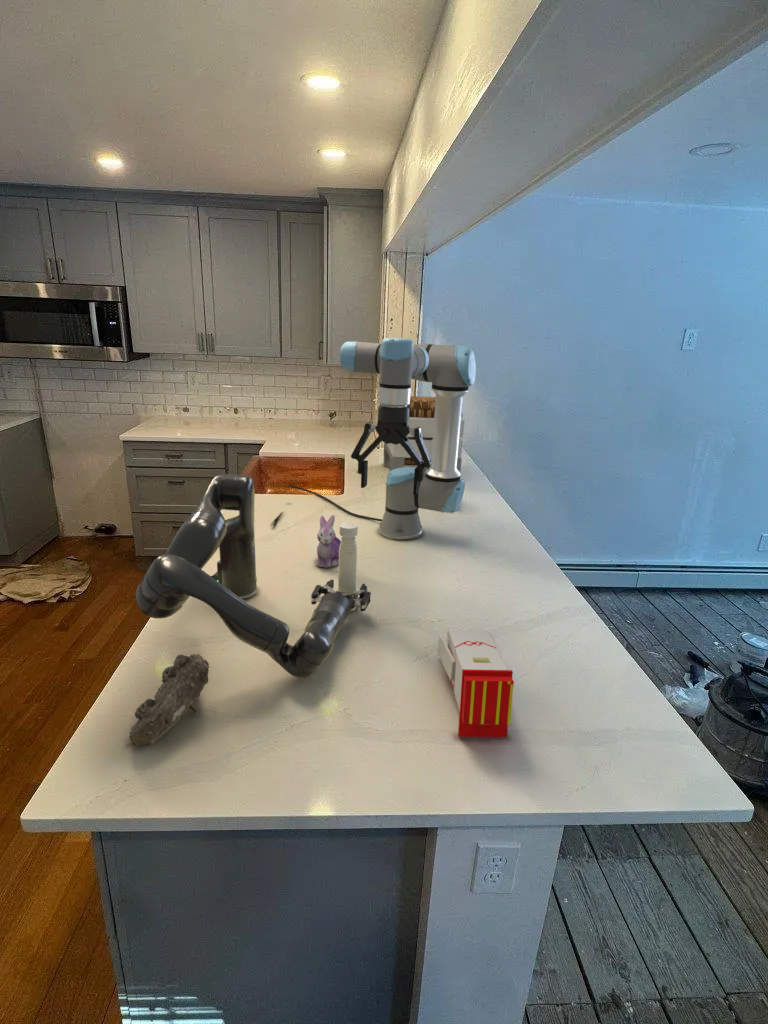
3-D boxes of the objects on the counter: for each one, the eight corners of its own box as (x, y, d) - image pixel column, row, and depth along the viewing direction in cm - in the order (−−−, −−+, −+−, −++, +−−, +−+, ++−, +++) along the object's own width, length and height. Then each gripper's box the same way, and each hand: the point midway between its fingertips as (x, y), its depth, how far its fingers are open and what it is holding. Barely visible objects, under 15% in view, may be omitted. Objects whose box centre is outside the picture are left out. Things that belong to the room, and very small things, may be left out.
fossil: (160, 655, 118) (210, 623, 113) (193, 685, 121) (243, 655, 116) (104, 739, 99) (161, 705, 94) (145, 772, 102) (202, 741, 97)
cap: (343, 529, 145) (344, 521, 144) (360, 532, 144) (360, 523, 143) (336, 535, 141) (336, 526, 140) (353, 538, 140) (353, 529, 139)
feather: (289, 506, 225) (292, 502, 225) (272, 529, 199) (275, 525, 198) (286, 503, 225) (288, 500, 225) (268, 527, 199) (271, 522, 198)
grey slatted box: (382, 463, 289) (386, 382, 275) (445, 464, 293) (451, 384, 279) (390, 482, 257) (394, 392, 243) (460, 483, 261) (468, 394, 247)
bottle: (342, 602, 152) (343, 522, 144) (358, 605, 151) (360, 525, 143) (335, 610, 148) (336, 528, 140) (351, 613, 147) (353, 531, 139)
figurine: (321, 571, 169) (321, 524, 164) (309, 557, 177) (309, 512, 172) (350, 565, 173) (351, 520, 168) (337, 553, 182) (338, 509, 177)
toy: (488, 613, 130) (523, 677, 101) (484, 667, 133) (517, 744, 104) (435, 612, 130) (455, 676, 101) (432, 666, 133) (451, 743, 103)
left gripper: (301, 624, 136) (322, 593, 151) (359, 633, 133) (374, 601, 148) (301, 596, 133) (322, 568, 148) (360, 605, 131) (375, 575, 146)
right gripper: (448, 407, 136) (441, 492, 143) (350, 398, 142) (347, 480, 149) (442, 412, 129) (435, 500, 136) (339, 402, 135) (337, 487, 142)
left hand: (348, 584), depth 148 cm, fingers open, 8 cm apart
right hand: (389, 490), depth 143 cm, fingers open, 13 cm apart
